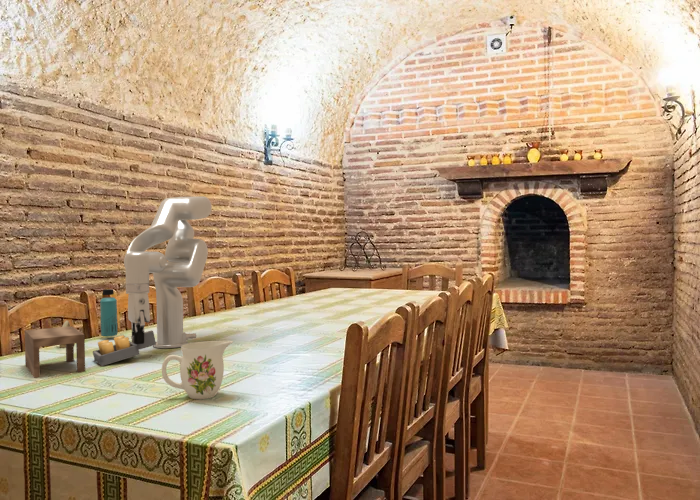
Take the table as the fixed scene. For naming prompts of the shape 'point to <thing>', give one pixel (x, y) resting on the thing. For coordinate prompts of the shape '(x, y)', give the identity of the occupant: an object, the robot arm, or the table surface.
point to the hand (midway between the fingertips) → (137, 342)
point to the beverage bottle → (108, 314)
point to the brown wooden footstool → (50, 338)
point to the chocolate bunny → (66, 324)
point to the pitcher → (199, 368)
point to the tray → (125, 351)
